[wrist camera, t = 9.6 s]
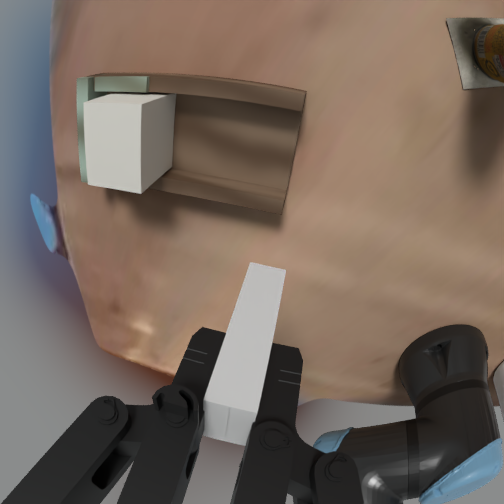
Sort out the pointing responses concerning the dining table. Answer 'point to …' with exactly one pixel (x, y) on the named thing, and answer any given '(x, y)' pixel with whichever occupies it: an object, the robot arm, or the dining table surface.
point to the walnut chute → (216, 135)
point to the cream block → (129, 139)
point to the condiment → (479, 50)
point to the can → (500, 385)
